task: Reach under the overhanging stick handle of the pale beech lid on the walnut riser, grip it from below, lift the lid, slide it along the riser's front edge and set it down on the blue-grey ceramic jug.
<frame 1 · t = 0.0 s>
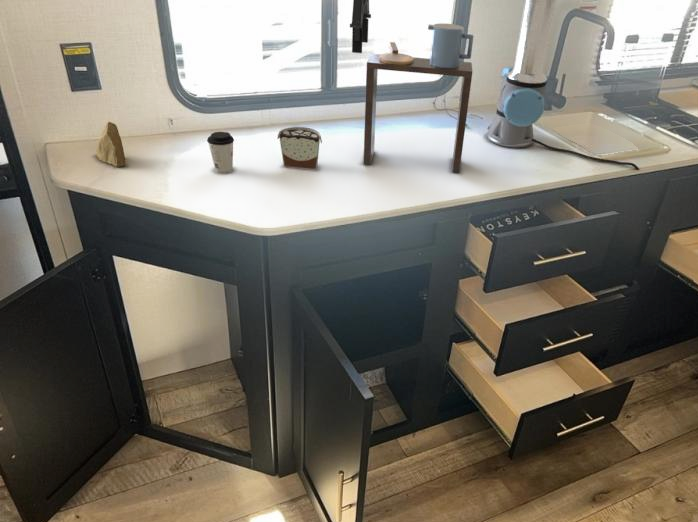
hand: (360, 47, 175), 28 cm above the countertop, tool pointing down, fingers open, 13 cm apart
lid: (396, 60, 163), point 28 cm above the countertop, touching riser
food container: (302, 165, 172), on the countertop
riser: (412, 162, 179), on the countertop
jug: (444, 64, 162), resting on riser
coffee cup: (224, 170, 165), on the countertop
rock: (111, 162, 165), on the countertop
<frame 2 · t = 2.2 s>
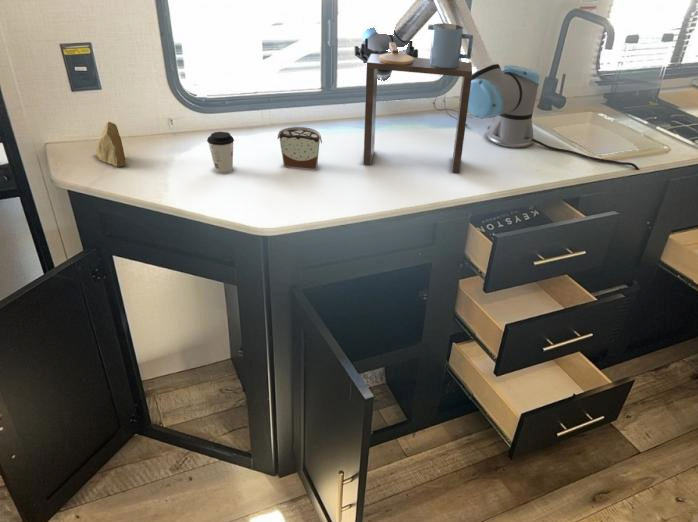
hand: (388, 44, 183), 27 cm above the countertop, tool pointing upward, fingers open, 13 cm apart
nothing on the countertop moved.
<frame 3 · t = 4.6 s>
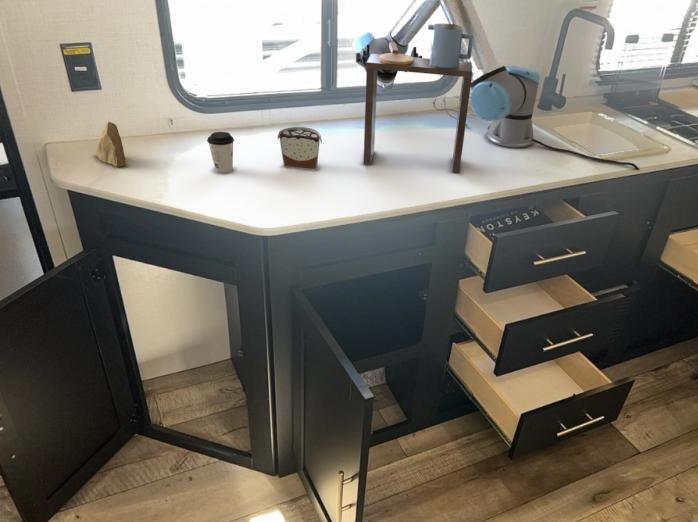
hand: (391, 50, 174), 28 cm above the countertop, tool pointing upward, fingers open, 13 cm apart
nothing on the countertop moved.
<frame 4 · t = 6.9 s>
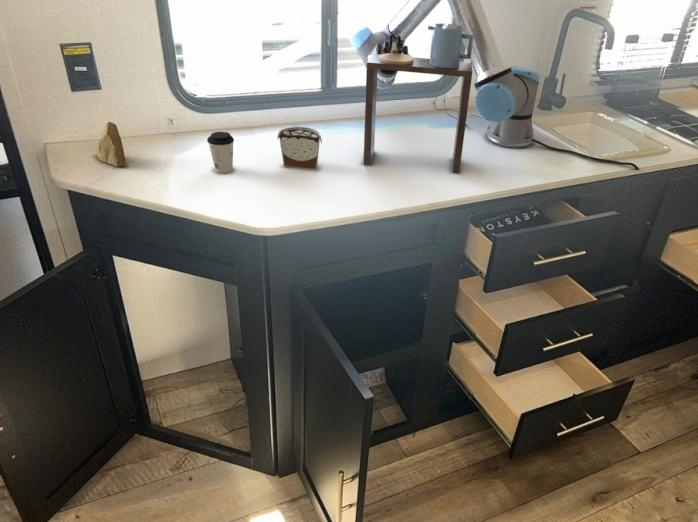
hand: (395, 40, 166), 32 cm above the countertop, tool pointing upward, fingers closed on lid, 2 cm apart
lid: (396, 60, 163), point 29 cm above the countertop, touching gripper
everything else where it was.
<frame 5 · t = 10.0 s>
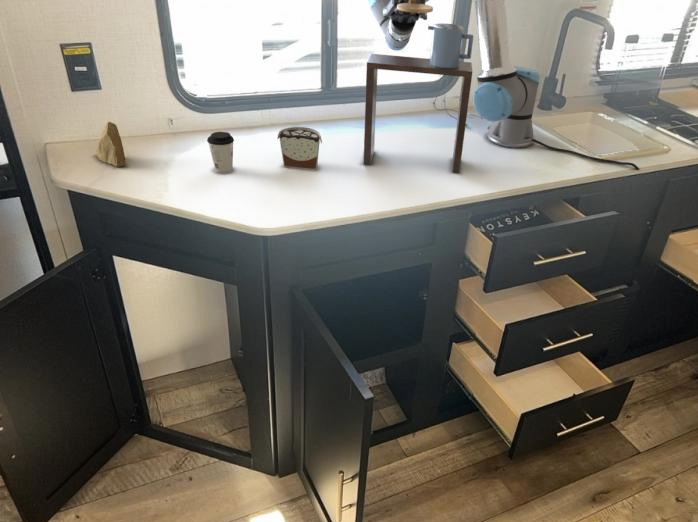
lid: (414, 9, 155), point 41 cm above the countertop, touching gripper
everything else where it was.
when the fingers open (42 cm above the countertop, at t = 13.1 s): lid stays where it is, resting on jug.
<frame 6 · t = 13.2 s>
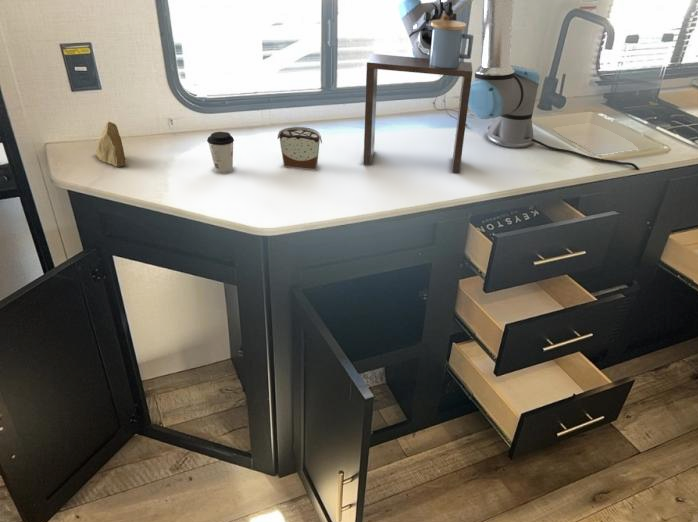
hand: (446, 7, 160), 42 cm above the countertop, tool pointing upward, fingers closed
lid: (448, 26, 157), point 38 cm above the countertop, touching jug
everything else where it was.
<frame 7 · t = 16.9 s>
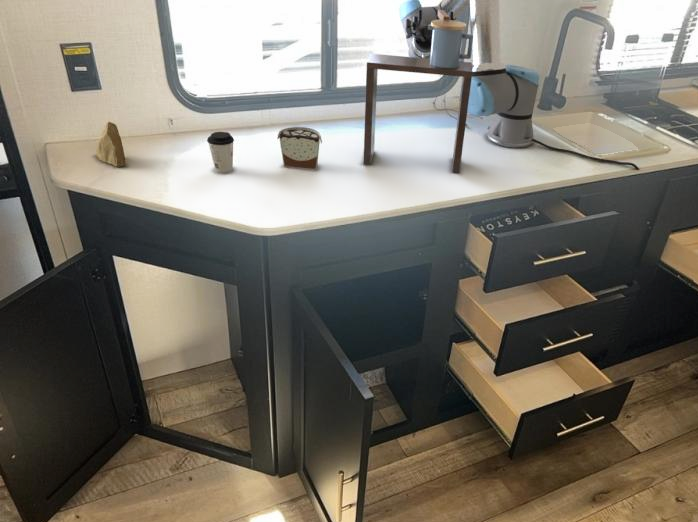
hand: (436, 15, 170), 38 cm above the countertop, tool pointing upward, fingers open, 8 cm apart
nothing on the countertop moved.
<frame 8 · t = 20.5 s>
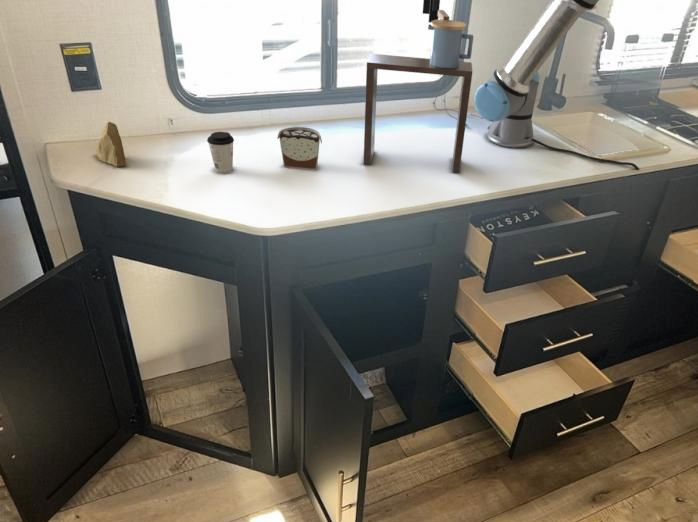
hand: (429, 18, 183), 35 cm above the countertop, tool pointing down, fingers open, 13 cm apart
nothing on the countertop moved.
at the end: lid 0.0 cm off-centre on the jug, point 9.6 cm above the jug's base; lid tilted 0°; the gripper is holding nothing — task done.
